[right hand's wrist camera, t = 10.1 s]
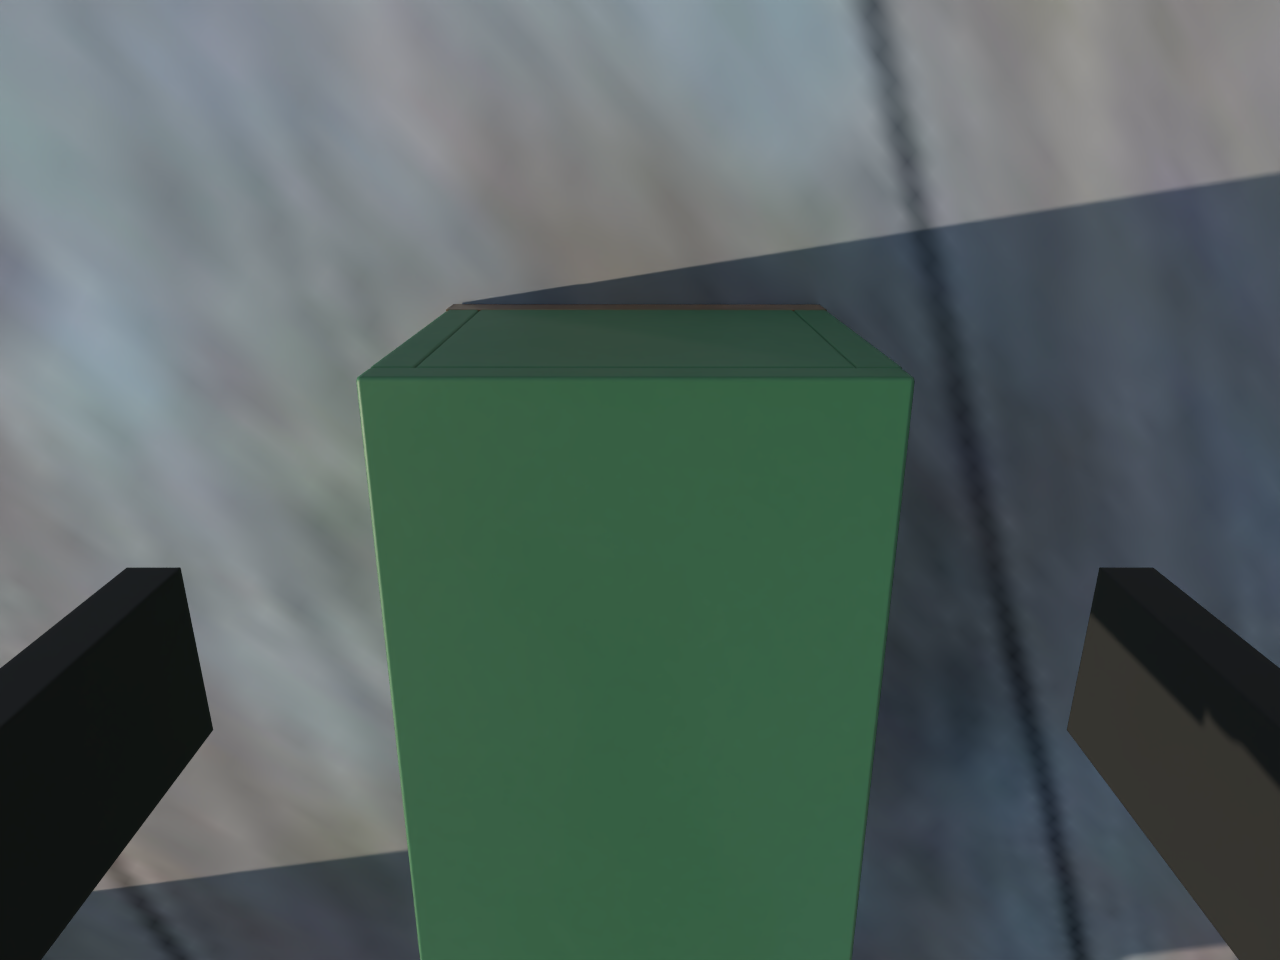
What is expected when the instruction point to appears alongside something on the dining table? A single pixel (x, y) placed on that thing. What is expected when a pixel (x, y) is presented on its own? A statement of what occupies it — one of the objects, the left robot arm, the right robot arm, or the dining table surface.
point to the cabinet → (635, 623)
